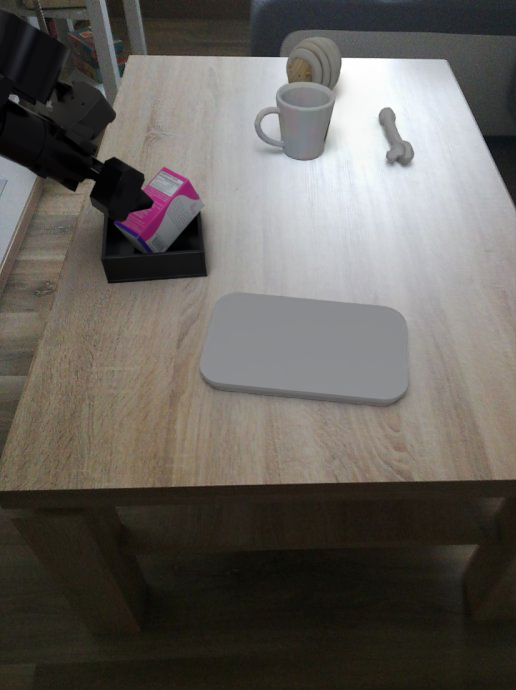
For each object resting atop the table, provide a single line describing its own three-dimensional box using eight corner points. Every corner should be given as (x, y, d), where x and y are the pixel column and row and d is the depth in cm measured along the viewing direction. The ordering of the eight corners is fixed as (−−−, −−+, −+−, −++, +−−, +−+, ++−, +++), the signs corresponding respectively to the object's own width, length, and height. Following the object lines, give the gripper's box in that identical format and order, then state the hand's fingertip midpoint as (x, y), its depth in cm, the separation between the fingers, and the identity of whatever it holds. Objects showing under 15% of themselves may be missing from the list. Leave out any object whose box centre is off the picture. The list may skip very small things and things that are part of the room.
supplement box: (132, 246, 85) (181, 192, 87) (156, 262, 83) (207, 207, 84) (111, 221, 80) (164, 164, 81) (136, 238, 77) (190, 179, 79)
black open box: (108, 283, 81) (100, 258, 77) (111, 224, 89) (104, 199, 85) (207, 276, 82) (204, 251, 79) (201, 218, 91) (198, 193, 87)
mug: (340, 158, 104) (346, 103, 96) (266, 174, 99) (265, 117, 91) (316, 131, 109) (319, 77, 101) (244, 145, 105) (242, 90, 97)
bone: (413, 170, 102) (417, 151, 99) (384, 169, 102) (388, 149, 99) (402, 121, 113) (405, 102, 110) (376, 120, 113) (379, 101, 110)
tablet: (405, 412, 69) (408, 401, 67) (196, 392, 69) (194, 380, 68) (403, 320, 79) (406, 308, 77) (219, 302, 79) (218, 290, 77)
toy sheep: (271, 105, 115) (271, 45, 106) (311, 75, 124) (314, 18, 115) (315, 120, 112) (319, 60, 103) (353, 88, 121) (360, 30, 112)
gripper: (112, 98, 56) (204, 161, 70) (8, 40, 63) (112, 108, 77) (66, 201, 58) (165, 241, 72) (-28, 134, 65) (78, 183, 79)
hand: (129, 190), depth 75 cm, fingers open, 9 cm apart
